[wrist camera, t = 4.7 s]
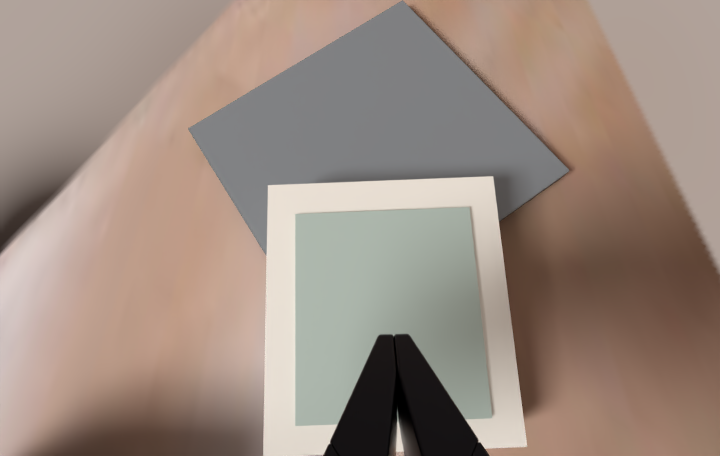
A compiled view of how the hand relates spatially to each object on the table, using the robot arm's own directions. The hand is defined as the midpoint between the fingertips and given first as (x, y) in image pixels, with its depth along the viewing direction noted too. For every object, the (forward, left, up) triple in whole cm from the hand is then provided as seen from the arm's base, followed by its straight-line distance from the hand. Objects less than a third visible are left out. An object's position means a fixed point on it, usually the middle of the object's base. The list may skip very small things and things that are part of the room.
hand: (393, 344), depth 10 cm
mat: (+10, -6, -11) cm, 16 cm away
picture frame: (+7, -4, -8) cm, 12 cm away
